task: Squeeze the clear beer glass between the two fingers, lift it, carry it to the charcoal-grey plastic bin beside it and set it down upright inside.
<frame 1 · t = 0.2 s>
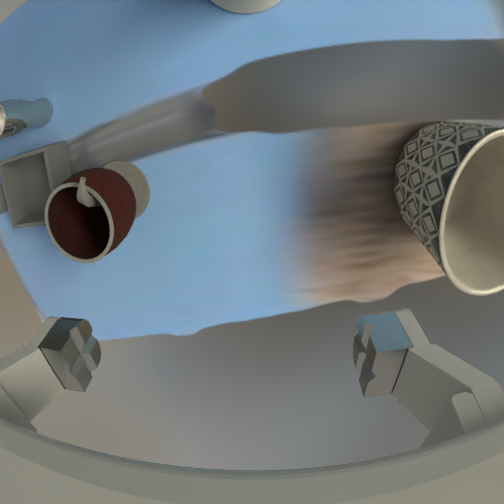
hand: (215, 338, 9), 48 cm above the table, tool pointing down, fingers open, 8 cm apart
beer glass: (43, 111, 48), on the table
bin: (46, 181, 55), on the table
mate gourd: (122, 187, 56), on the table
planter: (438, 178, 52), on the table
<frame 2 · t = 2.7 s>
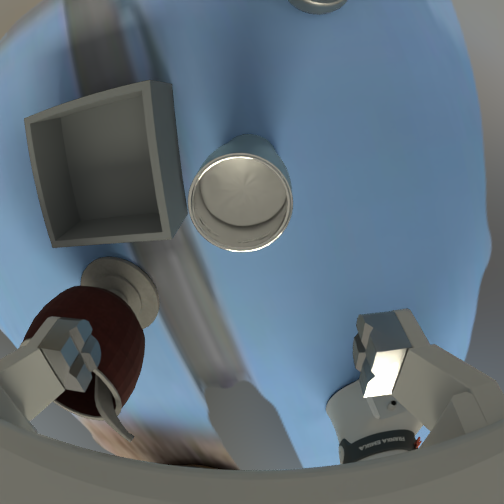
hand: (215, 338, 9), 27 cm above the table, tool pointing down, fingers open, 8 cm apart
beer glass: (249, 161, 33), on the table
bin: (118, 159, 32), on the table
mate gourd: (124, 296, 41), on the table
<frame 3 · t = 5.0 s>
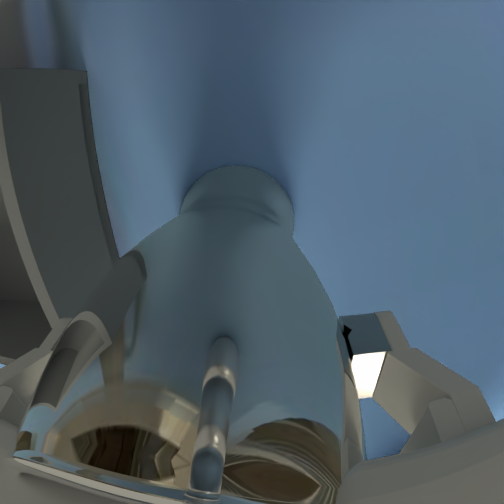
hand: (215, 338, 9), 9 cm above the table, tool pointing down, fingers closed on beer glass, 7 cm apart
beer glass: (237, 219, 17), on the table, touching gripper
bin: (19, 211, 17), on the table
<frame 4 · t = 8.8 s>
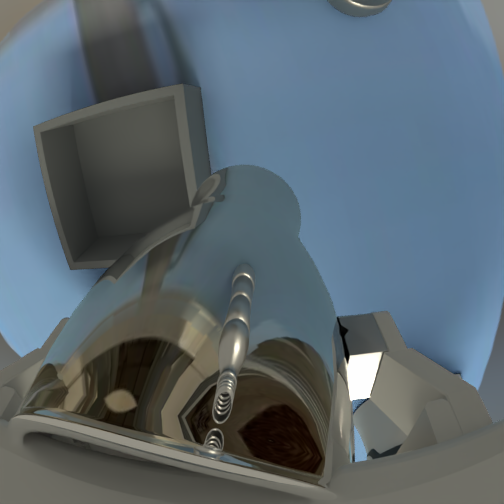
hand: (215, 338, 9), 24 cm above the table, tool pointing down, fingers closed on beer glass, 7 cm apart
beer glass: (245, 216, 17), point 14 cm above the table, touching gripper
bin: (140, 170, 30), on the table
when the fingers open (12 cm above the table, at t = 12.5 s): beer glass moves 3 cm, resting on bin.
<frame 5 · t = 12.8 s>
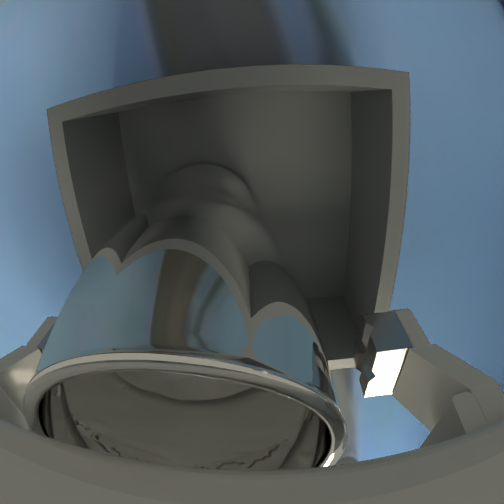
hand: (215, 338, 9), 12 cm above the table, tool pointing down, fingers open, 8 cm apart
beer glass: (204, 213, 18), point 1 cm above the table, touching bin, gripper
bin: (240, 203, 19), on the table
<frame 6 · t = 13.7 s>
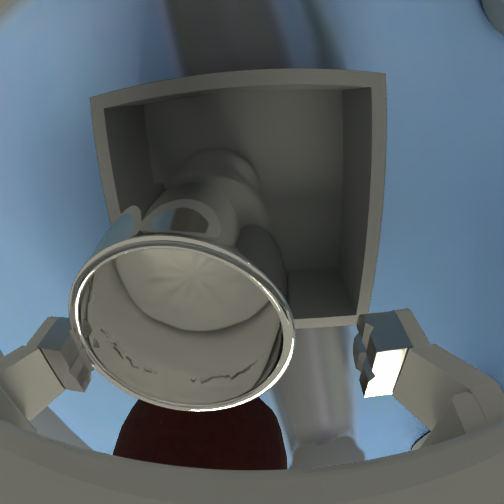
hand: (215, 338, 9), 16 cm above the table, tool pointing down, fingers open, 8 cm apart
beer glass: (217, 191, 22), point 1 cm above the table, touching bin, gripper
bin: (247, 184, 22), on the table
mate gourd: (222, 366, 31), on the table
plastic bottle: (497, 12, 14), on the table
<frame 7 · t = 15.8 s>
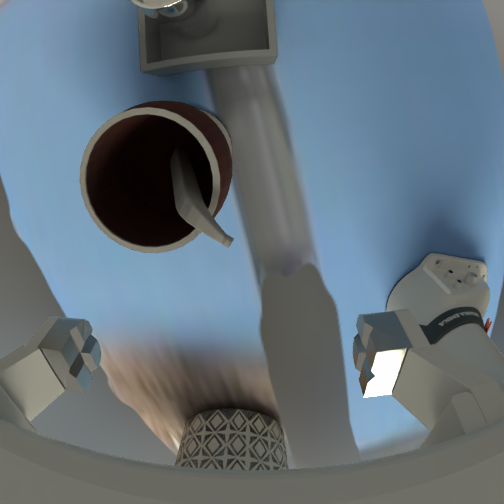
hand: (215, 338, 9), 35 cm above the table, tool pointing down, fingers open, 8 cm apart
beer glass: (194, 18, 31), point 1 cm above the table, touching bin
bin: (211, 17, 31), on the table
mate gourd: (192, 154, 40), on the table
planter: (234, 425, 68), on the table
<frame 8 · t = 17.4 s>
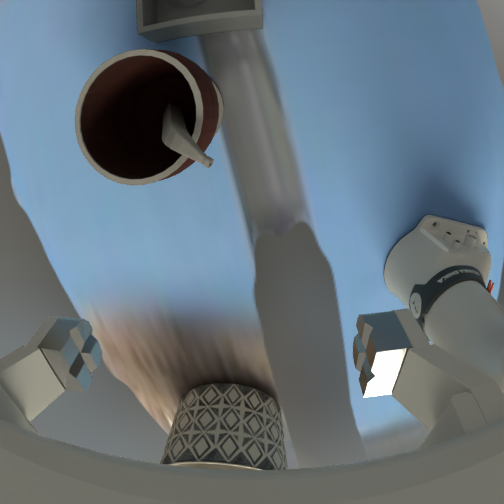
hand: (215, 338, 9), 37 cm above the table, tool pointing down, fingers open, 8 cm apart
mate gourd: (185, 113, 40), on the table
planter: (230, 404, 68), on the table
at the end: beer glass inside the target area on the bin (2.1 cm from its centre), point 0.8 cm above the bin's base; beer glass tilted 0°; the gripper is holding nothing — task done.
